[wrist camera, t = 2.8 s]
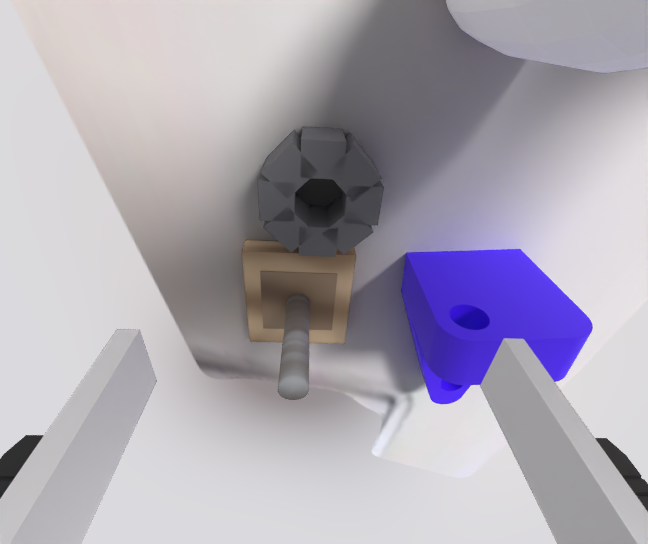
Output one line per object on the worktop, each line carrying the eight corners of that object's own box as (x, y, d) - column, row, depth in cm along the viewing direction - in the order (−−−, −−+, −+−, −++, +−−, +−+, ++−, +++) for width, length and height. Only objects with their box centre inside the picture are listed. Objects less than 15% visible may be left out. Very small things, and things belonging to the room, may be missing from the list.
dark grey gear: (262, 124, 25) (255, 136, 22) (381, 131, 26) (390, 144, 23) (267, 231, 30) (261, 254, 27) (365, 235, 31) (372, 258, 28)
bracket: (406, 252, 32) (446, 342, 22) (519, 248, 32) (608, 337, 23) (389, 375, 42) (412, 474, 33) (475, 372, 42) (524, 470, 33)
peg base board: (245, 240, 31) (213, 333, 21) (353, 244, 31) (372, 337, 21) (252, 328, 37) (230, 432, 27) (343, 330, 38) (353, 433, 28)
